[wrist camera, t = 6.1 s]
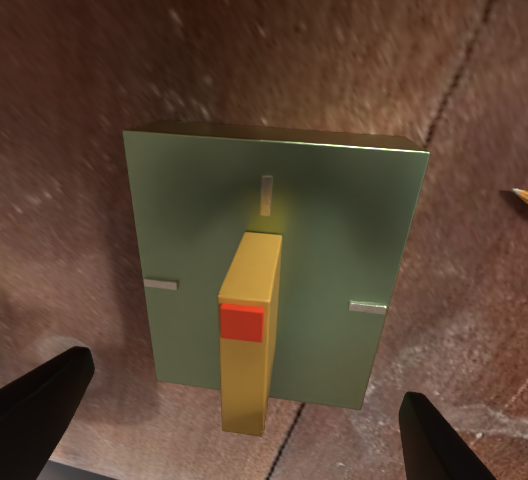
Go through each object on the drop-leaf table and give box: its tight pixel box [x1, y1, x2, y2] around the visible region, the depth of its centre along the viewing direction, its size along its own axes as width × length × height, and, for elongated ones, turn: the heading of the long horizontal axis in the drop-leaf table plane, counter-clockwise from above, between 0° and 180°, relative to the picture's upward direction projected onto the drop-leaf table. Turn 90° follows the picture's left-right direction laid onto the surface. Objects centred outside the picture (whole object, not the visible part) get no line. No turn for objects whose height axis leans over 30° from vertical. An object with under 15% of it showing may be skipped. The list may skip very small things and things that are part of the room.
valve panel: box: [122, 120, 430, 410], centre depth 14 cm, size 12×10×3 cm
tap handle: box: [217, 232, 282, 437], centre depth 11 cm, size 6×1×4 cm, turn 178°
